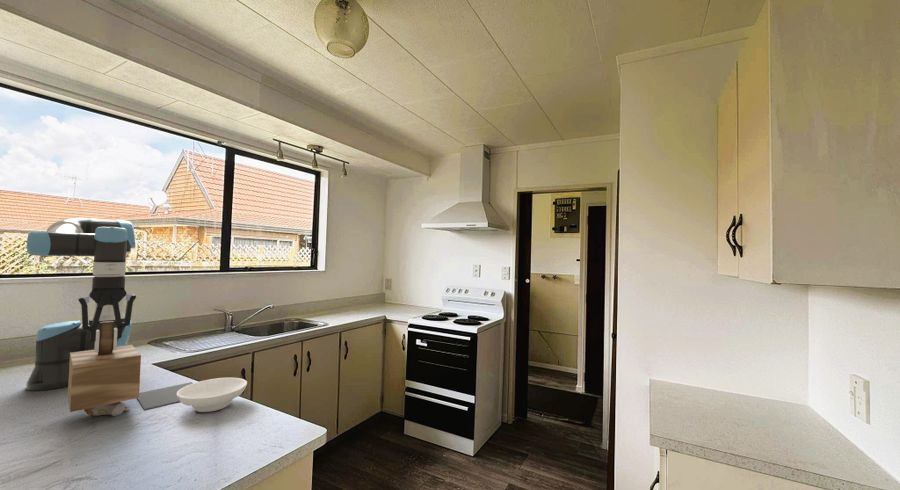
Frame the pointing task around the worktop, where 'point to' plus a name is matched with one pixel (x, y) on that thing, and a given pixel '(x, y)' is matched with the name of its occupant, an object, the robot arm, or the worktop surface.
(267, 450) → the worktop surface
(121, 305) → the robot arm
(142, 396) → the mat
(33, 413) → the worktop surface
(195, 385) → the bowl
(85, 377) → the wooden block with knob
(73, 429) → the worktop surface
